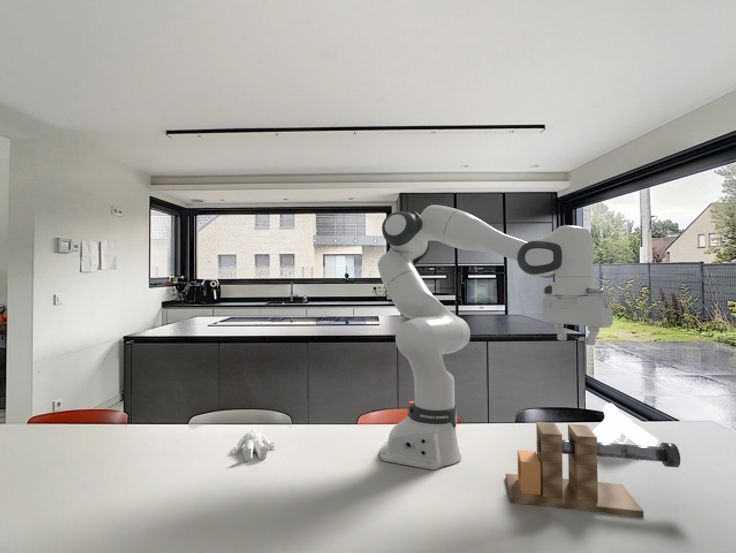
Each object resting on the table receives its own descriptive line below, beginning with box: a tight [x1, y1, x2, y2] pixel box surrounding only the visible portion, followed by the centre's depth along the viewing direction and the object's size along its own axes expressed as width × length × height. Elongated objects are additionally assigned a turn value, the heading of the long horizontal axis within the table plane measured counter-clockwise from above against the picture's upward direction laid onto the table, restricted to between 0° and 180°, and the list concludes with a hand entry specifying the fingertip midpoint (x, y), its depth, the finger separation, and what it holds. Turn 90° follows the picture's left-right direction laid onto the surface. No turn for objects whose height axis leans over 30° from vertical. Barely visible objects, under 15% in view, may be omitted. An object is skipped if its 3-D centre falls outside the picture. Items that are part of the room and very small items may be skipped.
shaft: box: [562, 439, 681, 468], centre depth 93 cm, size 26×5×5 cm, turn 77°
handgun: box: [591, 402, 660, 447], centre depth 120 cm, size 18×3×14 cm
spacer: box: [517, 449, 541, 495], centre depth 97 cm, size 4×7×7 cm, turn 167°
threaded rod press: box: [505, 421, 645, 518], centre depth 95 cm, size 26×12×15 cm, turn 77°
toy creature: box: [231, 429, 276, 463], centre depth 120 cm, size 12×6×12 cm
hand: (575, 342), depth 107 cm, fingers open, 8 cm apart
